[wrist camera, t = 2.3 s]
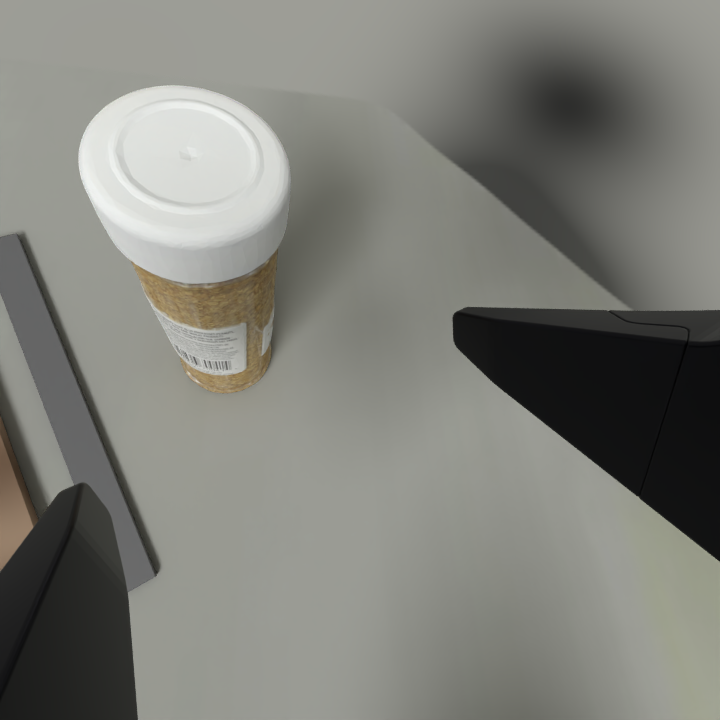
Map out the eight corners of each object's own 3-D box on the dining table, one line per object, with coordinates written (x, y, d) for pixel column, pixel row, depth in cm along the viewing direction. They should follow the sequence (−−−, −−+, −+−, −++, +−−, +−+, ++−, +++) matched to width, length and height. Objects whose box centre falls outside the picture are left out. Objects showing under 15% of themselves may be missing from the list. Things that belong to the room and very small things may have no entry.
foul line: (156, 575, 18) (155, 576, 17) (120, 596, 17) (117, 597, 17) (19, 237, 21) (16, 233, 20) (-16, 245, 20) (-20, 242, 20)
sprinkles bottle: (287, 347, 22) (331, 158, 10) (232, 413, 20) (201, 282, 8) (220, 298, 22) (179, 45, 10) (158, 359, 20) (14, 145, 8)
